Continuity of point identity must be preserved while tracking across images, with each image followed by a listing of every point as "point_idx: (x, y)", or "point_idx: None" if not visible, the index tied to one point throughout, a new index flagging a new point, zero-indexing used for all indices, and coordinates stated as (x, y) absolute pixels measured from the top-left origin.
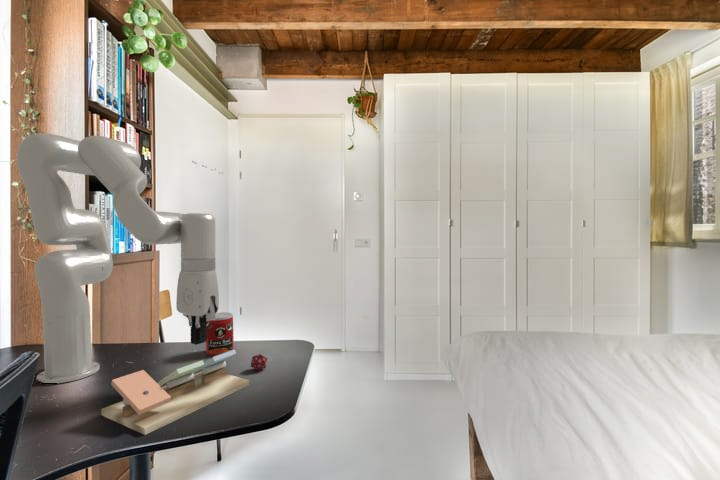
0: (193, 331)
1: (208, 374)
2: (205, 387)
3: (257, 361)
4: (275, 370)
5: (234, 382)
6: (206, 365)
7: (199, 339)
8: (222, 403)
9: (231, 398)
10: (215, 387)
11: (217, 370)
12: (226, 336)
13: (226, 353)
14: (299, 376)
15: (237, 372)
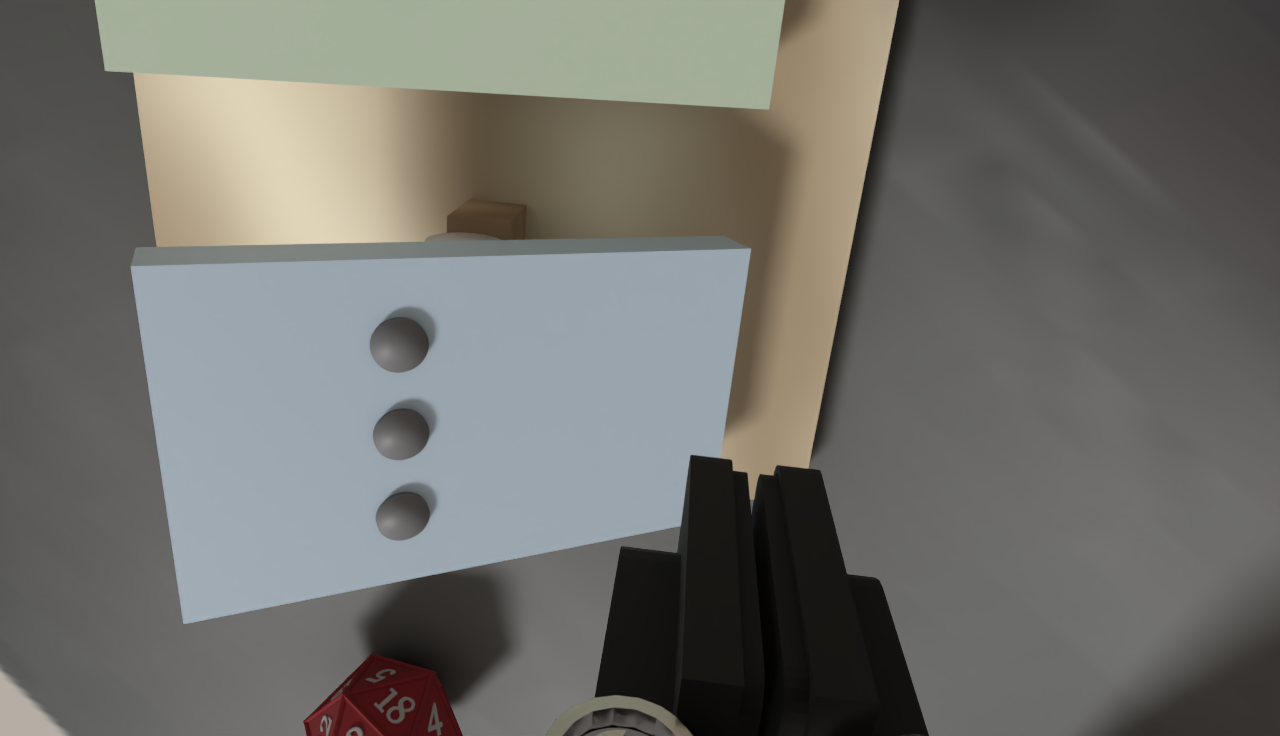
0: (758, 622)
1: None
2: (401, 143)
3: (334, 714)
4: (279, 711)
5: None
6: (359, 243)
7: (638, 550)
8: (68, 21)
9: (96, 142)
10: (304, 182)
11: None
12: None
13: (167, 485)
14: (14, 676)
15: (541, 589)
